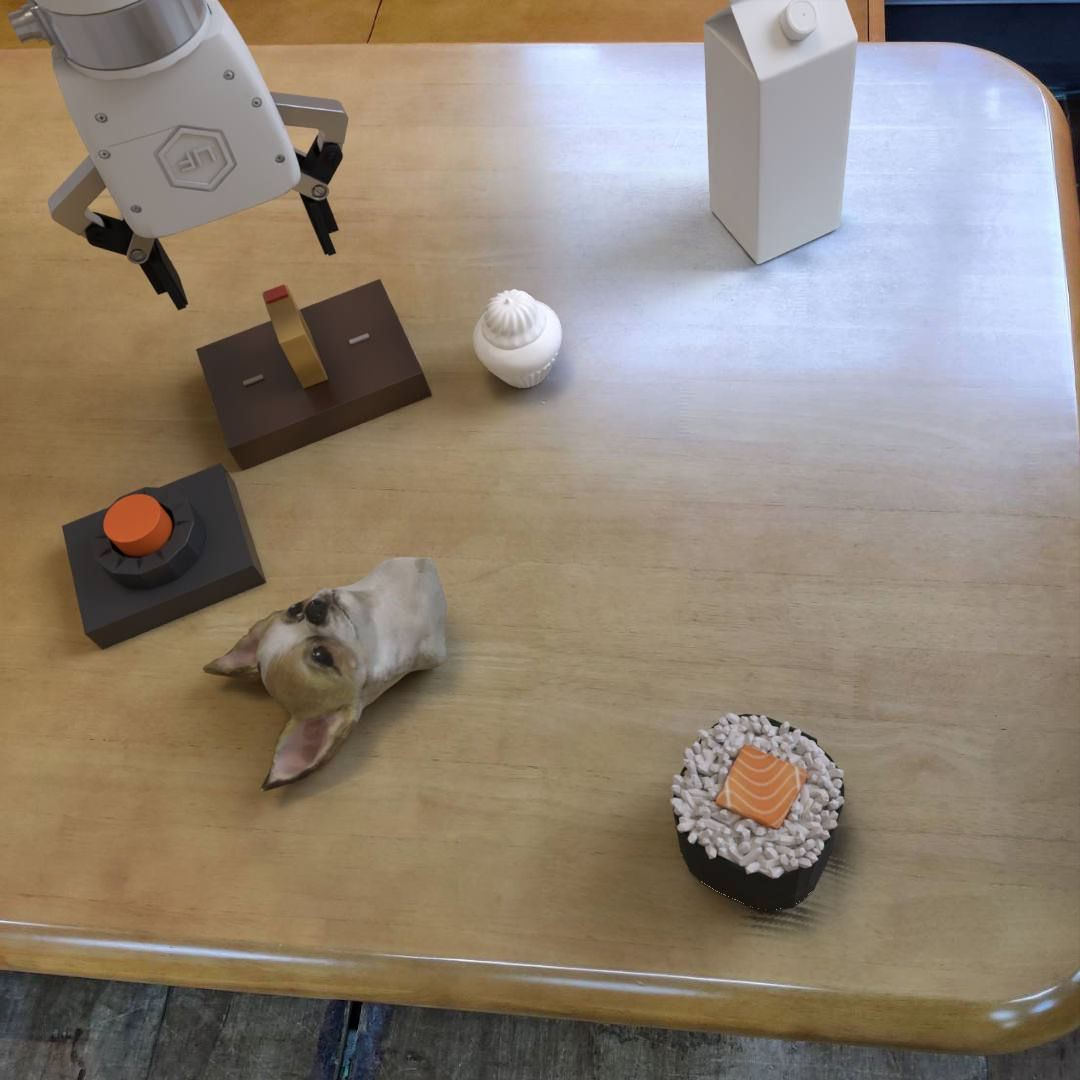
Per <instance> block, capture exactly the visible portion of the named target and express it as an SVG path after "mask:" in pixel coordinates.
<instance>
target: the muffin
mask: <svg viewBox="0 0 1080 1080" xmlns="http://www.w3.org/2000/svg"><path fill="white" fill-rule="evenodd" d="M484 309H485V312H483V314H482V315H481V316H480V317H479V319H478V320H477V323H476V324H475V327H474V329H473V333H472V346H473V350H474V352H475V354H476V357H477V359H478V360H479V361H480V362H481V363H482V365H484V367H486V368H487V371H489V372H490V373H492V374H493V375H494V376H496V377H497V378H499V379H500V380H502V381H503V382H505V383H506V384H508V385H509V386H512V387H514V388H518V389H529V388H533V387H534V386H538V384H542V382H544V380H545V379H546V378H547V376H548V375H549V373H550V371H551V370H552V367H553V365H554V363H555V361H556V360H557V358H558V356H559V352H560V347H561V345H562V341H563V329H562V325H561V322H560V319H559V317H558V315H557V313H556V312H555V311H554V310H553V309H552V308H551V307H550V306H548V305H547V304H546V303H544V302H542V301H539V300H537V299H535V298H534V297H533V296H531V295H530V294H528V293H527V291H524V290H517V289H515V288H513V289H511V290H507V289H504V290H503V291H502V292H501V293H500V292H498V293H496V294H495V297H490V299H489V303H488V304H487V305H485V307H484Z"/></svg>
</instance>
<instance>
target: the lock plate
mask: <svg viewBox="0 0 1080 1080" xmlns="http://www.w3.org/2000/svg"><path fill="white" fill-rule="evenodd" d="M299 310H300V312H301V314H302V316H303V318H304V320H305V322H306V324H307V326H308V328H309V330H310V333H311V335H312V338H313V341H314V343H315V346H316V349H317V351H318V354H319V357H320V359H321V362H322V364H323V367H324V370H325V372H326V375H327V378H328V380H326V381H323V382H320V383H318V384H315V385H312V386H310V387H307V388H305V389H304V388H303V387H302V385H301V383H300V381H299V380H298V378H297V376H296V374H295V372H294V370H293V368H292V366H291V365H290V363H289V361H288V359H287V357H286V355H285V353H284V351H283V349H282V348H281V346H280V344H279V341H278V338H277V336H276V333H275V330H274V327H273V324H272V322H271V320H268V321H265V322H263V323H261V324H258V325H255V326H253V327H250V328H248V329H245V330H242V331H239V332H237V333H235V334H232V335H229V336H226V337H224V338H221V339H219V340H216V341H214V342H211V343H208V344H206V345H203V346H200V347H198V348H196V349H195V351H196V354H197V357H198V361H199V364H200V367H201V369H202V372H203V376H204V379H205V383H206V384H207V388H208V391H209V392H208V393H209V395H210V398H211V401H212V404H213V407H214V410H215V413H216V416H217V420H218V422H219V426H220V429H221V431H222V435H223V439H224V441H225V444H226V447H227V450H228V452H229V453H230V454H231V456H232V457H233V459H234V460H235V463H237V465H238V467H239V468H240V469H241V471H242V472H244V471H246V470H249V469H251V468H254V467H257V466H259V465H261V464H264V463H267V462H269V461H271V460H274V459H277V458H279V457H281V456H284V455H287V454H289V453H292V452H295V451H297V450H299V449H303V448H304V447H307V446H309V445H312V444H314V443H317V442H319V441H321V440H324V439H327V438H329V437H332V436H335V435H337V434H339V433H342V432H344V431H347V430H350V429H353V428H355V427H358V426H359V425H362V424H364V423H367V422H369V421H372V420H375V419H377V418H380V417H383V416H385V415H387V414H389V413H393V412H395V411H397V410H400V409H402V408H405V407H407V406H409V405H412V404H415V403H418V402H421V401H422V400H425V399H428V398H430V397H432V392H431V388H430V387H429V383H428V381H427V379H426V376H425V373H424V371H423V369H422V367H421V364H420V362H419V360H418V358H417V356H416V353H415V351H414V349H413V346H412V344H411V343H410V341H409V338H408V336H407V333H406V332H405V329H404V328H403V325H402V323H401V321H400V319H399V317H398V314H397V312H396V310H395V307H394V305H393V304H392V301H391V299H390V297H389V295H388V292H387V290H386V288H385V286H384V283H383V282H382V280H381V279H380V278H378V279H376V280H373V281H370V282H368V283H365V284H362V285H360V286H357V287H355V288H352V289H349V290H347V291H344V292H342V293H339V294H337V295H334V296H331V297H329V298H326V299H323V300H320V301H318V302H315V303H313V304H310V305H308V306H305V307H301V308H299Z"/></svg>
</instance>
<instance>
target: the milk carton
mask: <svg viewBox="0 0 1080 1080" xmlns="http://www.w3.org/2000/svg"><path fill="white" fill-rule="evenodd" d="M728 1H729V2H728V5H726V6H725V7H723V8H722V9H721V10H719V11H718V12H716V13H714V14H713V15H712V16H710V17H709V18H707V19H705V20H704V21H703V49H704V50H703V52H704V53H703V54H704V77H705V78H704V81H705V106H706V135H707V137H706V138H707V139H706V140H707V164H708V165H707V166H708V193H709V194H708V195H709V208H710V210H711V212H713V214H714V215H715V216H716V217H717V218H718V220H719V221H720V222H721V223H722V224H723V225H724V227H725V228H726V229H727V230H728V231H729V233H730V234H731V235H732V237H734V239H735V240H736V241H737V243H739V245H740V246H741V247H742V249H743V250H745V252H746V253H747V254H748V256H750V258H751V259H752V260H753V261H754V262H755V264H756V265H761V264H764V263H766V262H768V261H771V260H773V259H774V258H777V257H780V256H781V255H783V254H786V253H787V252H790V251H792V250H794V249H797V248H799V247H801V246H804V245H805V244H807V243H810V242H812V241H814V240H816V239H818V238H820V237H822V236H825V235H827V234H829V233H832V232H834V231H835V230H837V229H839V228H840V227H841V221H842V220H841V219H842V210H843V200H844V190H845V179H846V170H847V169H846V168H847V157H848V147H849V138H850V128H851V127H850V126H851V118H852V117H851V116H852V107H853V106H852V105H853V96H854V85H855V77H856V76H855V75H856V63H857V53H858V43H859V42H858V41H859V40H858V39H859V36H858V35H859V34H858V32H857V28H856V25H855V24H854V21H853V19H852V15H851V12H850V10H849V8H848V4H847V2H846V0H728Z"/></svg>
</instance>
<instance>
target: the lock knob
mask: <svg viewBox="0 0 1080 1080" xmlns="http://www.w3.org/2000/svg"><path fill="white" fill-rule="evenodd" d="M261 296H262V299H263V303H264V305H265V307H266V311H267V313H268V316H269V318H270V321H271V322H272V324H273V327H274V330H275V333H276V336H277V338H278V341H279V344H280V346H281V348H282V349H283V351H284V353H285V355H286V357H287V359H288V361H289V363H290V365H291V366H292V368H293V370H294V372H295V374H296V376H297V378H298V380H299V381H300V383H301V385H302V387H303V388H304V389H305V388H307V387H310V386H312V385H315V384H318V383H320V382H323V381H326V380H328V378H327V375H326V372H325V370H324V367H323V364H322V362H321V359H320V357H319V354H318V351H317V349H316V346H315V343H314V341H313V338H312V335H311V333H310V330H309V328H308V326H307V324H306V322H305V320H304V318H303V316H302V314H301V312H300V308H299V305H298V304H297V302H296V300H295V298H294V296H293V294H292V292H291V290H290V288H289V286H288V284H281V285H277V286H275V287H273V288H271V289H267V290H265V291H262V293H261Z"/></svg>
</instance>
